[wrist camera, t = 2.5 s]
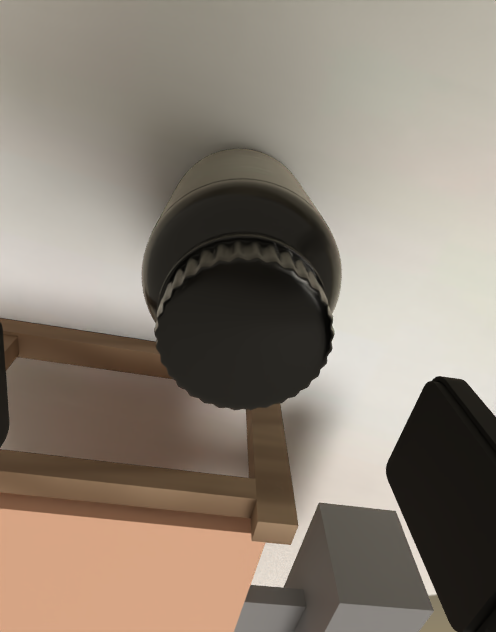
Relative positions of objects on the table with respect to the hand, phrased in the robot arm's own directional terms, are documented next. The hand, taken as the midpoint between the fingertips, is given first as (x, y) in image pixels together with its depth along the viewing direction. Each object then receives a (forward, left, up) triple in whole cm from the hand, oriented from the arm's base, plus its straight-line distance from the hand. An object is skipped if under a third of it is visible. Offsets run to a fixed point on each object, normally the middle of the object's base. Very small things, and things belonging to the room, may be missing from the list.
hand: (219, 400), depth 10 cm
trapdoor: (+17, 0, -6) cm, 18 cm away
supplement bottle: (0, +1, -14) cm, 14 cm away
